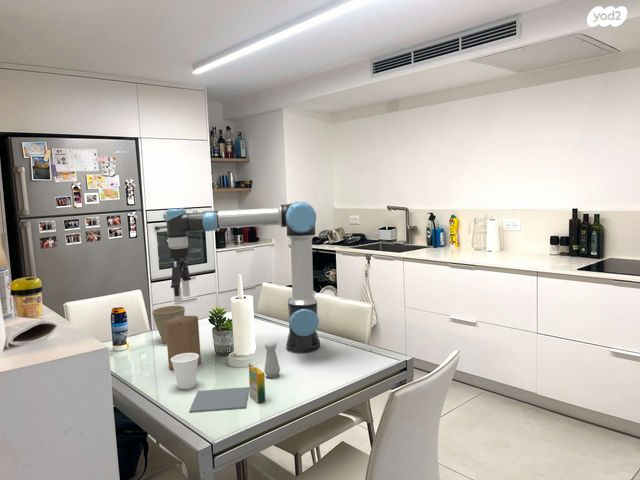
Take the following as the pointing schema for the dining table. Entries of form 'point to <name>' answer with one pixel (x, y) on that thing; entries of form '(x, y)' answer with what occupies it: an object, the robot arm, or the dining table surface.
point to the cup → (185, 369)
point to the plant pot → (166, 318)
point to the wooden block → (182, 337)
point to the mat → (220, 399)
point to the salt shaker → (271, 361)
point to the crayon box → (257, 384)
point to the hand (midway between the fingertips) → (182, 300)
